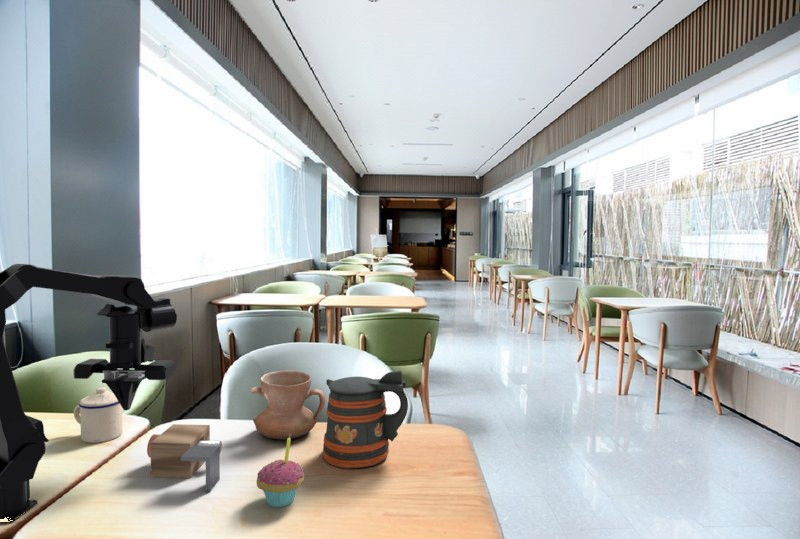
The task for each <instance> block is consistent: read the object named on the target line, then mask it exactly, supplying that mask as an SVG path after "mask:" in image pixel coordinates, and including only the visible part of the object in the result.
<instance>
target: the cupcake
mask: <svg viewBox="0 0 800 539" xmlns="http://www.w3.org/2000/svg"><path fill="white" fill-rule="evenodd" d="M290 435H291V434H290ZM290 435H289V438H287V439H286V444H285V445H286V446H285V453H284V454H285V455H284V460H282V459H277V460H274V461H271V462H270V463H268V464H267V465H265V466H263V467H262V468H261V469H260V470H259V471H258V472H257V478H256V487H257V488H258V489H259V490H262V491H263V494H264V496H265V499H266V502H267V504H268V505H269V506H270V507H274V508H281V507H287V506H289V505H290V504H292V503H293V502H294V500H295V497H296V493H297V491H298V489H299V487H300V485H301V484H302V483H303V482H304V480H305V472H304V469H303V467H302V466H301V465H299V463H297V462H295V461H293V460H289V456H290V448H291V441H292V440H291V439H290Z"/></svg>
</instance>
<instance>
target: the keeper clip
mask: <svg viewBox="0 0 800 539" xmlns="http://www.w3.org/2000/svg"><path fill="white" fill-rule="evenodd" d="M220 454H221V452H220V446H191V447H190V448H189V449H188V450H187V451H186V452H185V453H184V454H183V455H182V456H181V461H205V492H206V493H209V492H211V491H212V490H213V489H214V488H215V486H216V485H217V483H218V482H219V481H220V480H221V479H220V475H221V474H220V472H221V471H220V469H221V468H220V467H221V466H220V464H221V463H220V462H221V458H220Z"/></svg>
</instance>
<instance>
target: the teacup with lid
mask: <svg viewBox="0 0 800 539" xmlns="http://www.w3.org/2000/svg"><path fill="white" fill-rule="evenodd" d="M73 417H74V420H75V421H76V422H77V423H78V424H79V425H80V439H81V441H82V442H85V443H88V444H89V443H92V444H93V443H95V444H96V443H104V442H105V443H106V442H109V441H111V440H114V439H117V438H118V437H120V436H121V435H122V434H123V430H124V429H123V408H122V406H121V405H120V403H119V401H118V400H117V398H116V397H115V395H114V393H113V392H112V391H109V390H107V388H106V387H105V386H103V387H101V386H100V387H98V388H97V389H96V391H95V392H93V393H91V394H90V395H88V396H85V397H83V398H82V399H80V400H79V403H78V405H76V406H75V408H74V409H73Z"/></svg>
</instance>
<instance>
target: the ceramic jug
mask: <svg viewBox="0 0 800 539" xmlns="http://www.w3.org/2000/svg"><path fill="white" fill-rule="evenodd" d="M312 378H313V377H312V375H311V374H309V373H307V372H305V371H299V370H279V371H273V372H272V371H271V372H268V373H265V374H263V375H262V376H261V377H260V387H259V386H255V387H252V388H251V390H250V393H251V394H252V395H255V394H258V395H259V396H261V397H263V398H264V399H265V401H266V404H267V405H268V406H267V407H266V408H264V409H263V410H261V411H260V412H259V413H257V415H255V416H253V418H252V421H253V424H254V427H255V429H256V430H257V432H258V433H259V434H260V435H262V436H264V437H265V438H269V439H271V440H272V439H274V440H287V438H289V435H290V434H291V435H290V439H295V438H299V437H301V436H304V435H306V434H308V433H309V432H311V431H312V430H313V429H314V427H315V426H316V424H317V423H318V421H319V417H320V415H321V413H322V412H323V410H324V408H325V405H326V396H325V394H324V392H323V390H320V389H318V388H313V389H310V388H311V384H312ZM315 395H316V396H318V398H319V405H318V408H317V410H316V412H315V414H314V413H313V412H312V411H311V410H310V409H309V408H307V407H306V406H305V405H304V403H305V401H306V400H307V399H309V398H310V397H311V396H312V397H313V396H315Z"/></svg>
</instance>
